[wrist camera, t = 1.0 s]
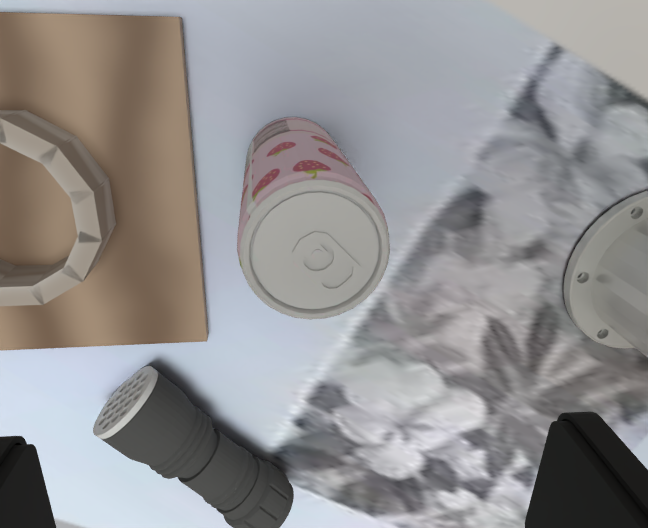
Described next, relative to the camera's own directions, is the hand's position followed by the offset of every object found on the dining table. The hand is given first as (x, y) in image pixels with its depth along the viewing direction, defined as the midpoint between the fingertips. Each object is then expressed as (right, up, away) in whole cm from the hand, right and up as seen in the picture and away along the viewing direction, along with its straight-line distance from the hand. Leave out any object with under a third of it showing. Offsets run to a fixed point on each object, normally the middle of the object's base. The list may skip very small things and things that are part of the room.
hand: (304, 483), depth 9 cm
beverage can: (-2, +10, +22) cm, 25 cm away
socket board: (-18, +8, +21) cm, 28 cm away
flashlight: (-9, -9, +30) cm, 32 cm away
